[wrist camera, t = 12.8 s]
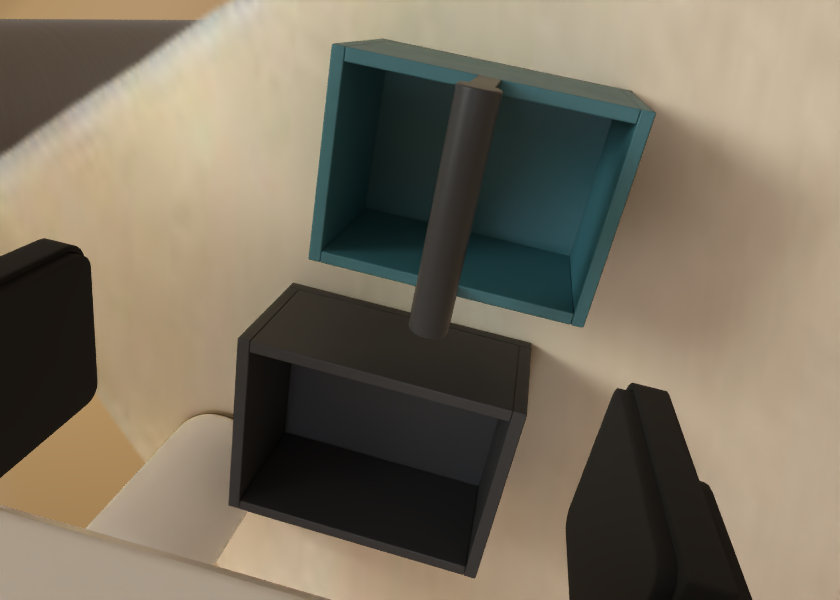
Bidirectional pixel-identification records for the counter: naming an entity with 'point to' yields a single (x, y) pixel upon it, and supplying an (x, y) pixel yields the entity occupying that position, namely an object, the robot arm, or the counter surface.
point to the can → (180, 495)
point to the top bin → (472, 179)
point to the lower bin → (376, 426)
